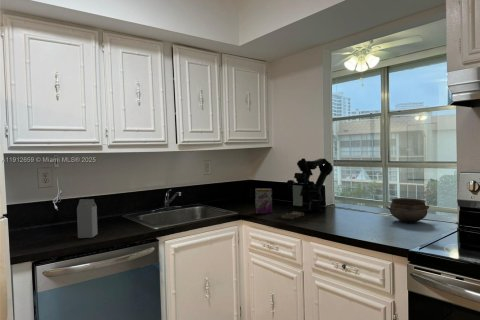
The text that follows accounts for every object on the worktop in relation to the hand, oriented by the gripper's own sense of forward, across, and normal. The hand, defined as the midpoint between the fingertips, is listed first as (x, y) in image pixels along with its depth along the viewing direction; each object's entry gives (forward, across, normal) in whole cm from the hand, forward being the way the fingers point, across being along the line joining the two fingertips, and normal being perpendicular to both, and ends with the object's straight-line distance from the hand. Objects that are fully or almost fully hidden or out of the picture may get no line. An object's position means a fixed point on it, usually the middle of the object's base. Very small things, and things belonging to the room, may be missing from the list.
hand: (296, 195), depth 201 cm
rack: (+13, 0, +6) cm, 14 cm away
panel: (+4, 0, +6) cm, 7 cm away
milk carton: (+82, -60, -63) cm, 120 cm away
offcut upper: (+11, 0, +7) cm, 13 cm away
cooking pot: (-8, +58, +27) cm, 64 cm away
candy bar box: (+12, -23, +7) cm, 27 cm away
